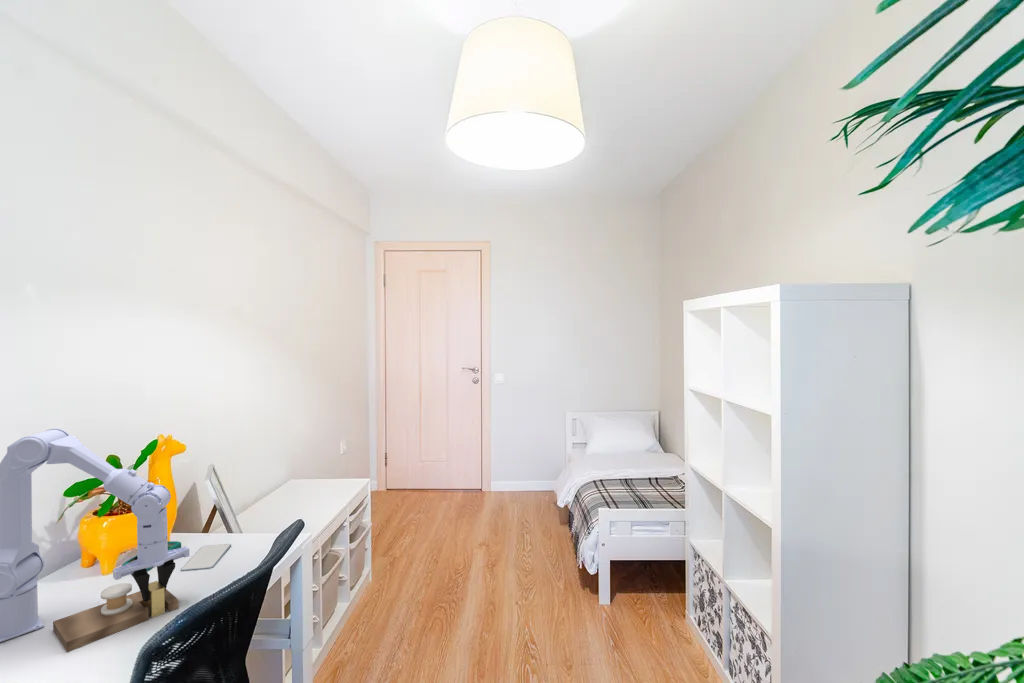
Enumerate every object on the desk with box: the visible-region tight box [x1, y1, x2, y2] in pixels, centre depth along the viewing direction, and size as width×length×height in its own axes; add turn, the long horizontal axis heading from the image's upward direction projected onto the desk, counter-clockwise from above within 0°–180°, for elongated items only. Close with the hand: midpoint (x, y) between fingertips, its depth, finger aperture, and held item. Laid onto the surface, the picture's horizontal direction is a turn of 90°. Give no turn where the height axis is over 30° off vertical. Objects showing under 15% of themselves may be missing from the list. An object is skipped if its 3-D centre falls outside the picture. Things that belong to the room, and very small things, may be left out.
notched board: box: [52, 588, 180, 652], centre depth 112 cm, size 20×12×2 cm, turn 143°
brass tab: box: [144, 580, 166, 619], centre depth 114 cm, size 2×5×6 cm, turn 53°
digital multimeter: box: [121, 540, 182, 572], centre depth 141 cm, size 7×15×3 cm, turn 1°
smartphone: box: [180, 543, 232, 572], centre depth 142 cm, size 8×1×15 cm
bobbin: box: [100, 582, 133, 616], centre depth 112 cm, size 6×6×4 cm
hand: (153, 597), depth 115 cm, fingers open, 2 cm apart
